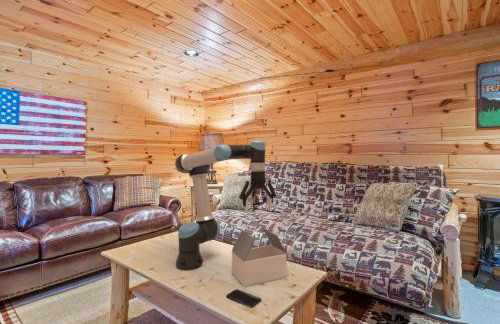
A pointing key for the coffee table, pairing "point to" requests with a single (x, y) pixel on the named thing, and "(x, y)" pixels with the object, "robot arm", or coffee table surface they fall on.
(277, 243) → the flap
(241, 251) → the flap
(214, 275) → the coffee table surface
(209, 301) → the coffee table surface
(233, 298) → the phone
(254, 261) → the carton
